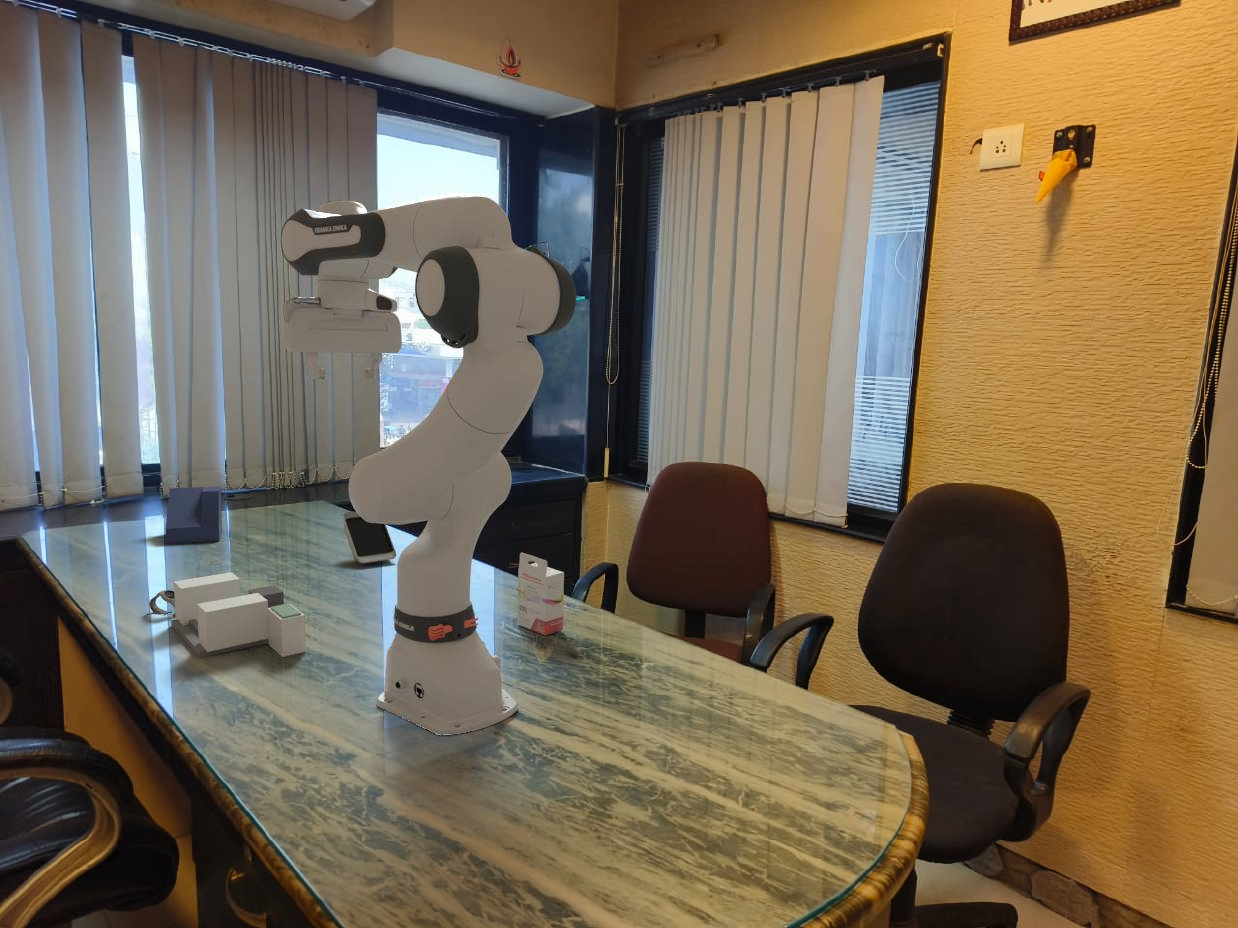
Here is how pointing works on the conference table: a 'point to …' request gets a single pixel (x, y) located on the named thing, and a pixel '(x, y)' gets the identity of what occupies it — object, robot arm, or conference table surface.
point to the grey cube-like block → (270, 595)
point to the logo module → (286, 630)
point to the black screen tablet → (368, 539)
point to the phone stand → (193, 515)
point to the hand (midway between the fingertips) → (345, 379)
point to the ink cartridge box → (539, 596)
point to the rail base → (219, 615)
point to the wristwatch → (166, 596)
